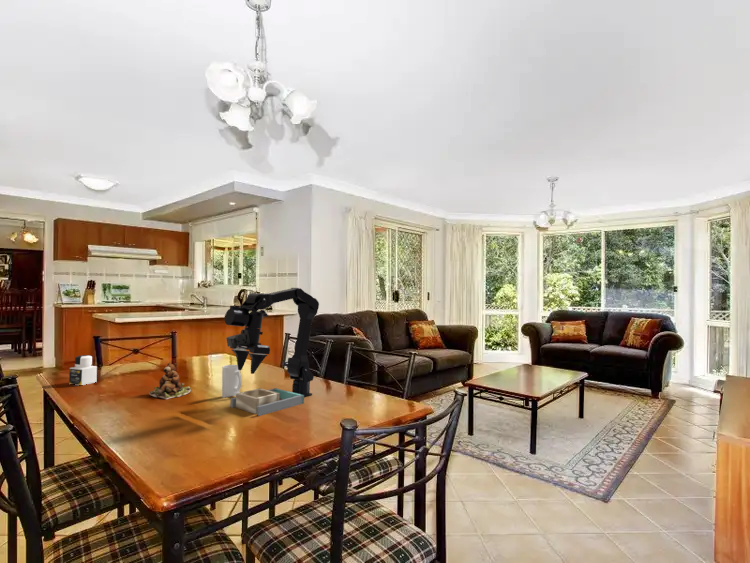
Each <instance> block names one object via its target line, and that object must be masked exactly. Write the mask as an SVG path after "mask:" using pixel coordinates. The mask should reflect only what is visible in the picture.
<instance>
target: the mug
mask: <svg viewBox="0 0 750 563" xmlns="http://www.w3.org/2000/svg"><path fill="white" fill-rule="evenodd" d="M221 368H222V371H221V373H222V374H221V378H222V379H221V380H222V381H221V382H222V384H221V385H222V387H221V388H222V389H221V391H222V392H221V393H222V394H221V395H222V396H221V398H223V399H224V398H228V397H236V393H241V388H242V375H241V370H238V365H237V364H227V365H223V366H222V367H221Z"/></svg>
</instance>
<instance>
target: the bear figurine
mask: <svg viewBox="0 0 750 563" xmlns="http://www.w3.org/2000/svg"><path fill="white" fill-rule="evenodd" d="M177 366H178V363H177V362H174V363H170V362H168V363H167V364H166V366H165V367H164V368H163V373H164V374H163V375H162V376H161V378H160V379H159V382H158V385H159V386H155V387H153V388H154V390H151V391H149V393H148V394H149V395H150V396H152V397H154V398H156V399H158V398H161V399H164V400H169V399H172V398H177V397H178V398H180V397H181V396H186V395H187V394H189V393H191V391H192V390H191V389H192V388H191V387H190V386H184V385H185V383H183V382H182V383H181V382H180V375H179V373H178V372H177Z"/></svg>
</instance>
